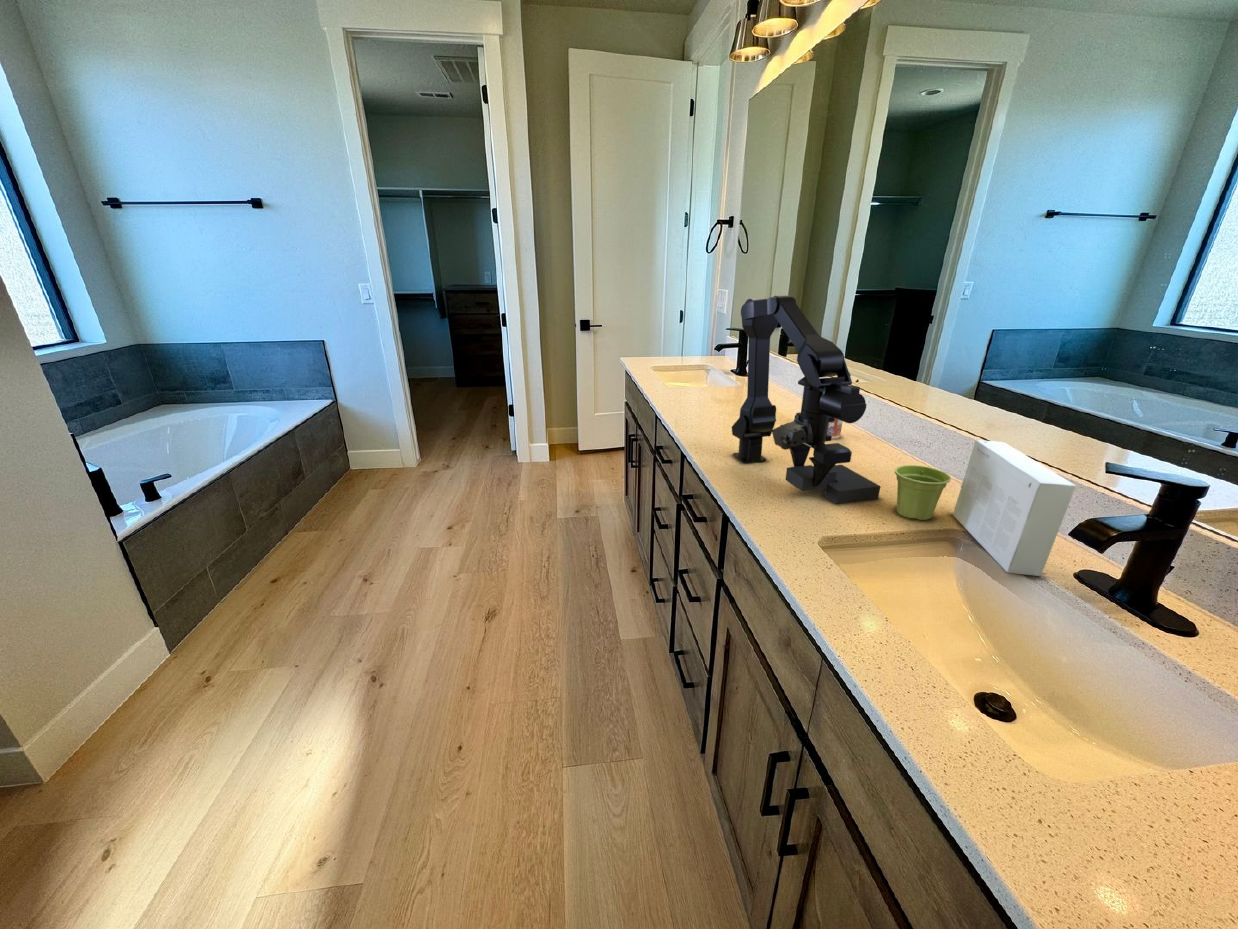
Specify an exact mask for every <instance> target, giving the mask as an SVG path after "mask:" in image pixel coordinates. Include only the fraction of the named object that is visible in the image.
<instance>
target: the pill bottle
mask: <svg viewBox="0 0 1238 929" xmlns="http://www.w3.org/2000/svg"><path fill="white" fill-rule="evenodd" d="M843 423H844V422H843V421H841V420H838V419H835V418H834V422H829V427H828V435H830V436H832V438H831V440H835V439H839V438H840V437H841V434H842V427H843Z"/></svg>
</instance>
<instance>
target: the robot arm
mask: <svg viewBox="0 0 1238 929" xmlns="http://www.w3.org/2000/svg"><path fill="white" fill-rule="evenodd" d="M740 308H741V309H740V316H741V326H742V328H743V331H744V332H745V335H746V336H747V338H748V348H747V350H748V353H747V389H746V390H747V392H746V393H747V397H746V399H745V400H744V402H743V404H742V405H741V407H740V409H739V417H738V419H737V420H736V421H735V422H734V423H733V424H732V425H731V435H732V436H734V437H735V438H737V439H739V440H738V441H739V442H738V452H733V453H732V456H733V457H735V458H736V459H737V460H739V461H740V462H741V463H743V464H748V463H749V464H750V463H759V462H766V461H767V458H766V457H764V456H763V455H762V453H763V452H762V451H763V440H764V438H765V437H769V438H770V437H771V435H772V437H773V442H774V445H776V446H778V447H780V448H781V449H782V450H783V451H784V450H785V451H787V450H789V452H790V455H791V456H790V457H791V460H792V465H793V467H797V466H805V464H806V461H807V460H810V462H811V463H812V464H813V465H812V466H813V486H814V487H815V486H819V484H820V483H821V482H822V480H823V479H824V478H825V477H826V475H827V474H828V473H829V471H830V470H831V469H832V468H833V467H834V466H835V465H839V464H848V463H851V462H852V461H851V460H852V456H853V455H852V454H853V452H852V451H851V449H850V448H849V447H846V446H845V445H843V444H841V443H839V442H834V443H826V442H832V439H831V438H832V436H830V435H828V427H829V422H834V418H835V419H838V420H841V421H843V422H842V423H846V424H853V423H857V422H858V421H859V420H861V418H862V417H863V416H864V414H865V412H866V410H867V403H866V399H865V397H864V395H863V394H861V393H860V392H861V387H860V386H857V385H852V384H853V381H852V380H853V379H852V378H851V376H852V374H851V373H850V371H849V368H848V366H847V363H846V360H845V355H844V353H843V351H842V350H841V348H839V347H838V346H837V345H836V344H835V343H834V342H833V341H831V340H829V339H827V338H825V337H822V336H821V335H820V334H819V333H818V332H817V330H816V329H815V328H814V326H813V325H812V323H811V321H810V320H809V319H808V318H807V316H806V315H805V314H804V312H803V311H802V310H801V308H800V306H798V305H797V300H796V298H795V297H794V296H792V295H790V294H788V295H787V294H786V295H773V296H771V297H761V298H757V297H755V298H748V299H747V300H745V302H744V303H743V304H742V305H741V307H740ZM778 325H780V327H781V328H782V330H783V331H784V332H785V334H786V336H787V337H788V339H789V340H790V342H791V343H792V345H793V346H794V348H795V349H796V351H797V356H796V362H797V364H798V367H799V369H800V371H801V373H802V375H803V377H802V378H801V379H799V380H798V381H797V384H798V385H800V386H802V387H803V391H802V398H801V399H802V400H801V406H800V407H801V408H800V412H796V413H795V415H794V419H793V420H792V421H790V422H786V423H784V424H781V425H779V426H778V427H775V424H776V422H777V415H776V414H777V406H776V405H775V404H772V402H771V400H770V398H769V381H770V380H769V379H770V351H771V337H772V335H773V333H774V331H775V330H776V328H777V326H778ZM811 449H813V452H812V455H813V456H810V457H808V456H809V453H810V450H811ZM807 458H808V459H807Z"/></svg>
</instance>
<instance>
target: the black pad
mask: <svg viewBox="0 0 1238 929" xmlns="http://www.w3.org/2000/svg"><path fill="white" fill-rule="evenodd" d="M836 475H837V472H836V471H835V470H833V469H831V470H830V471H829V473H828V474H827V475H826V477H825V478H824V479H823V480H822V482H821V483H820V484H819V486H815V487H814V486H813V465H812V464H807V465H804V466H797V467H794V466H789V467H786V472H785V481H786V482H788V483H789V485H792V487H794V488H796V489H797V490H799V491H800V492H809V491H819V490H826V489H827V484H828V483H834V482H835V481H836Z"/></svg>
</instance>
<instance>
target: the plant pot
mask: <svg viewBox="0 0 1238 929" xmlns="http://www.w3.org/2000/svg"><path fill="white" fill-rule="evenodd" d="M894 473H895V475H896V482H897V488H896V489H897V490H896V491H897V492H896V511H897V513H898V514H899V515H900V516H902V517H905V518H908V519H917V520H920V521H927V520H930V519H931V518H932V517H933V514H934V512H935V510H936V508H937V504H938V502H939V500H940V498H941V495H942V493H943V490H944V489H945V488H946V486H947V484H948V483H950V482H951V480H952V477H951V476H950V474H948V473H946V472H945V471H944V470H940V469H938V468H933V467H930V466H925V465H916V464H905V465H899V466H897V467H895V469H894Z"/></svg>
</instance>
